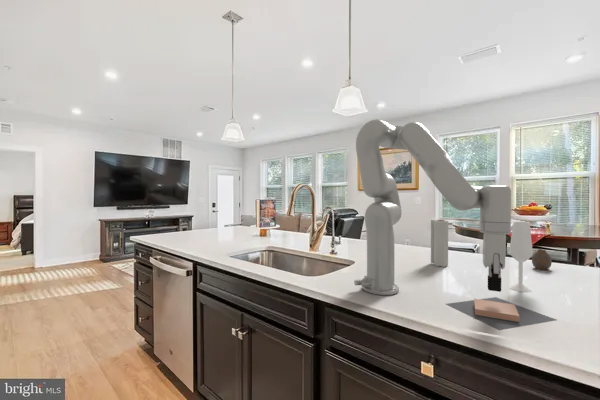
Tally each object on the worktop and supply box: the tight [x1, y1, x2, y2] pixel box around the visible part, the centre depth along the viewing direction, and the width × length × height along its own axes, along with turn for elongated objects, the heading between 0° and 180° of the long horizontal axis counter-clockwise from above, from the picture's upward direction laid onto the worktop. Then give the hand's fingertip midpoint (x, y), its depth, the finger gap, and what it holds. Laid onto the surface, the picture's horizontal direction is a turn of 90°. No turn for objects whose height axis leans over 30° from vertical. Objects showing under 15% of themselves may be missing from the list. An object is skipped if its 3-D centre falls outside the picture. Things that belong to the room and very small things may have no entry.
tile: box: [473, 298, 519, 322], centre depth 84 cm, size 10×2×9 cm
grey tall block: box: [430, 219, 449, 267], centre depth 141 cm, size 7×6×21 cm
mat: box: [445, 296, 557, 331], centre depth 86 cm, size 20×18×1 cm
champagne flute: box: [508, 220, 534, 293], centre depth 106 cm, size 7×7×24 cm
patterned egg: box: [531, 248, 552, 271], centre depth 134 cm, size 7×7×9 cm
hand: (494, 290), depth 87 cm, fingers closed
